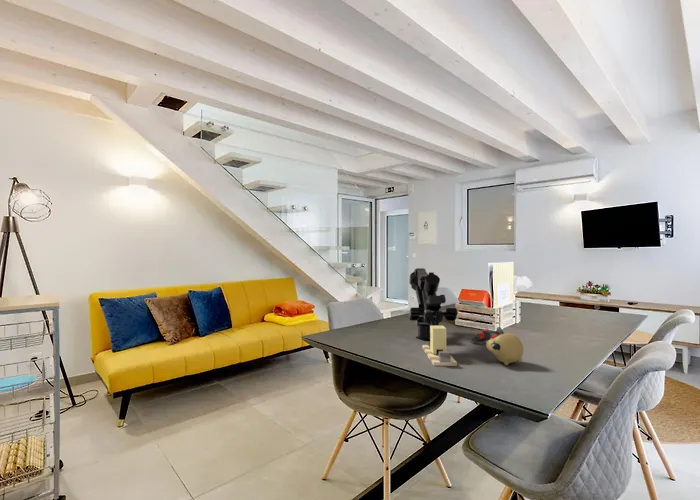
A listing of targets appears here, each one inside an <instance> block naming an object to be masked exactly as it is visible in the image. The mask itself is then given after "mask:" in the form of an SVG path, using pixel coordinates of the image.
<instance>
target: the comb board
mask: <svg viewBox="0 0 700 500" xmlns="http://www.w3.org/2000/svg"><path fill="white" fill-rule="evenodd" d="M422 350H423V351H424V353H425V354H426V356H427V357H428V359H429V360H430V362H431V364H432V365H433V366H435V367H438V366H439V367H440V366H441V367H448V366H449V367H452V366H453V367H457V366H458V362H457V360H456V359H455V358H454V357H453V356H452V355H451V352H450V350H447V349H446V351H441V350H440V349H436V354H433V353H432V352H431V350H430V341H427V344H422Z"/></svg>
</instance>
